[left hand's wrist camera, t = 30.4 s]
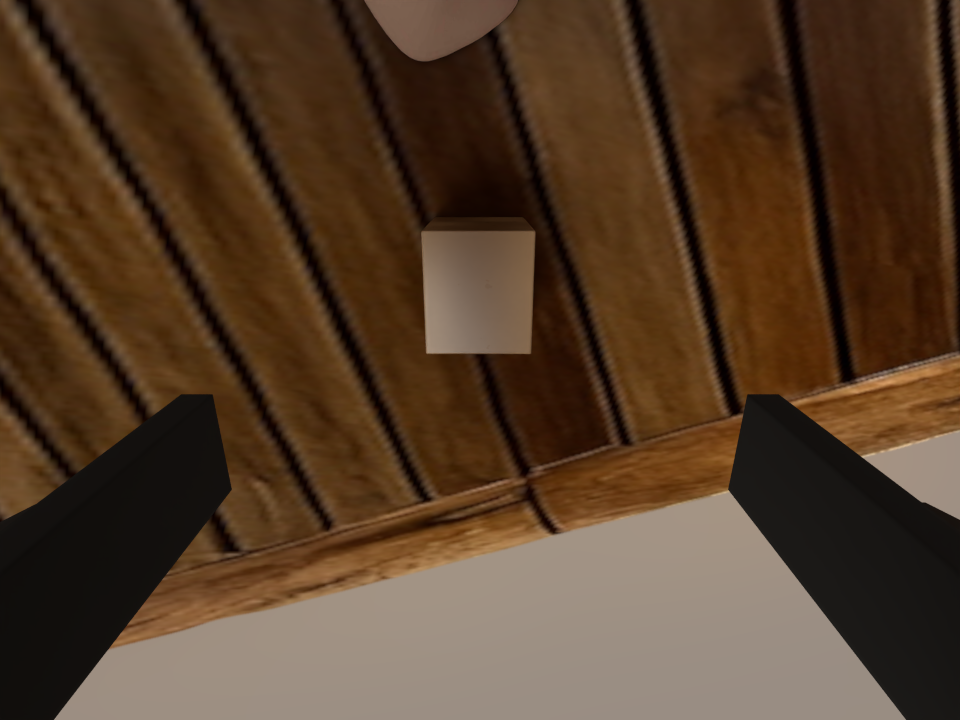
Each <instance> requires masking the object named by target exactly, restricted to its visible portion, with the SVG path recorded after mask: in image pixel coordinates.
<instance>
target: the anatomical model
mask: <svg viewBox="0 0 960 720" xmlns="http://www.w3.org/2000/svg"><path fill="white" fill-rule="evenodd" d="M364 1H365V2H366V4H367V5H368V7H369V9H370V10H371V12H372V14H373V15H374V17H375V18H376V20H377V21H378V23H379V24H380V25H381V27H382V28H383V30H384V31H385V33H386V34H387V35H388V36H389V37H390V39H391V40H392V41H393V42H394V43H395V45H396V46H397V47H398V48H399V49H400V50H401V51H402V52H404V53H405V54H406V55H407V56H409V57H411V58H413V59H415V60H418V61H431V60H435V59H438V58H441V57H444V56H447V55H449V54H451V53H453V52H455V51H457V50H459V49H461V48H463V47H465V46H467V45H469V44H471V43H473V42H474V41H476V40H478V39H480V38H481V37H483V36H484V35H485V34H487V33H488V32H489V31H491V30H492V29H493V28H495V27H496V26H497V25H499V24H500V23H501V22H502V21H504V20H505V19H506V18H507V17H508V16H509V15H510V14H511V12H512V11H513V9H514V8H515V6H516V4H517V2H518V0H364Z"/></svg>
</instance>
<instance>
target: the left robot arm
mask: <svg viewBox="0 0 960 720" xmlns="http://www.w3.org/2000/svg"><path fill="white" fill-rule="evenodd" d="M231 490H232V488H231V484H230V479H229V474H228V469H227V464H226V459H225V454H224V449H223V444H222V439H221V434H220V429H219V424H218V419H217V414H216V409H215V404H214V399H213V394H181V395H180V396H179V397H177V398H176V399H175V400H173V401H172V402H171V403H169V404H168V405H167V406H165V407H164V408H163V409H161V410H160V411H159V412H157V413H156V414H155V415H153V416H152V417H151V418H150V419H148V420H147V421H146V422H144V423H143V424H142V425H140V426H139V427H138V428H136V429H135V430H134V431H132V432H131V433H130V434H128V435H127V436H126V437H124V438H123V439H122V440H120V441H119V442H118V443H116V444H115V445H114V446H112V447H111V448H110V449H109V450H107V451H106V452H105V453H103V454H102V455H101V456H99V457H98V458H97V459H95V460H94V461H93V462H91V463H90V464H89V465H87V466H86V467H85V468H83V469H82V470H81V471H79V472H78V473H77V474H75V475H74V476H73V477H71V478H70V479H69V480H68V481H66V482H65V483H64V484H62V485H61V486H60V487H58V488H57V489H56V490H54V491H53V492H52V493H50V494H49V495H48V496H46V497H45V498H44V499H42V500H41V501H40V502H38V503H37V504H35V505H33V506H31V507H29V508H27V509H25V510H23V511H21V512H19V513H17V514H15V515H13V516H11V517H9V518H8V519H6V520H4V521H2V522H0V720H54V719H55V718H56V716H57V715H58V714H59V712H60V711H61V710H62V708H63V707H64V706H65V704H66V703H67V702H68V701H69V699H70V698H71V697H72V695H73V694H74V693H75V692H76V690H77V689H78V688H79V686H80V685H81V684H82V683H83V681H84V680H85V679H86V677H87V676H88V675H89V673H90V672H91V671H92V670H93V668H94V667H95V666H96V664H97V663H98V662H99V661H100V659H101V658H102V657H103V655H104V654H105V653H106V652H107V650H108V649H109V648H110V646H111V645H112V644H113V643H114V641H115V640H116V639H117V637H118V636H119V635H120V633H121V632H122V631H123V630H124V628H125V627H126V626H127V624H128V623H129V622H130V621H131V619H132V618H133V617H134V615H135V614H136V613H137V612H138V610H139V609H140V608H141V606H142V605H143V604H144V602H145V601H146V600H147V599H148V597H149V596H150V595H151V593H152V592H153V591H154V590H155V588H156V587H157V586H158V584H159V583H160V582H161V580H162V579H163V578H164V577H165V575H166V574H167V573H168V571H169V570H170V569H171V568H172V566H173V565H174V564H175V562H176V561H177V560H178V558H179V557H180V556H181V555H182V553H183V552H184V551H185V549H186V548H187V547H188V546H189V544H190V543H191V542H192V540H193V539H194V538H195V537H196V535H197V534H198V533H199V531H200V530H201V529H202V527H203V526H204V525H205V524H206V522H207V521H208V520H209V518H210V517H211V516H212V515H213V513H214V512H215V511H216V509H217V508H218V507H219V505H220V504H221V503H222V502H223V500H224V499H225V498H226V496H227V495H228V494H229V493H230V491H231ZM728 490H729V491H730V493H731V494H732V495H733V496H734V498H735V499H736V500H737V501H738V503H739V504H740V505H741V507H742V508H743V509H744V511H745V512H746V513H747V514H748V516H749V517H750V518H751V520H752V521H753V522H754V524H755V525H756V526H757V527H758V529H759V530H760V531H761V533H762V534H763V535H764V536H765V538H766V539H767V540H768V542H769V543H770V544H771V545H772V547H773V548H774V549H775V551H776V552H777V553H778V555H779V556H780V557H781V558H782V560H783V561H784V562H785V564H786V565H787V566H788V567H789V569H790V570H791V571H792V573H793V574H794V575H795V577H796V578H797V579H798V580H799V582H800V583H801V584H802V586H803V587H804V588H805V590H806V591H807V592H808V593H809V595H810V596H811V597H812V599H813V600H814V601H815V602H816V604H817V605H818V606H819V608H820V609H821V610H822V612H823V613H824V614H825V615H826V617H827V618H828V619H829V621H830V622H831V623H832V624H833V626H834V627H835V628H836V630H837V631H838V632H839V633H840V635H841V636H842V637H843V639H844V640H845V641H846V643H847V644H848V645H849V646H850V648H851V649H852V650H853V652H854V653H855V654H856V655H857V657H858V658H859V659H860V661H861V662H862V663H863V665H864V666H865V667H866V668H867V670H868V671H869V672H870V674H871V675H872V676H873V677H874V679H875V680H876V681H877V683H878V684H879V685H880V686H881V688H882V689H883V690H884V692H885V693H886V694H887V696H888V697H889V698H890V699H891V701H892V702H893V703H894V704H895V706H896V707H897V708H898V710H899V711H900V712H901V714H902V715H903V716H904V717H905V719H906V720H960V520H959V519H957V518H955V517H953V516H951V515H949V514H947V513H945V512H943V511H941V510H939V509H937V508H935V507H933V506H931V505H929V504H927V503H922V502H920V501H919V500H917V499H916V498H915V497H914V496H912V495H911V494H910V493H908V492H907V491H906V490H904V489H903V488H902V487H900V486H899V485H898V484H896V483H895V482H894V481H892V480H891V479H890V478H889V477H887V476H886V475H884V474H883V473H882V472H881V471H879V470H878V469H877V468H875V467H874V466H873V465H871V464H870V463H869V462H867V461H866V460H865V459H863V458H862V457H861V456H859V455H858V454H857V453H855V452H854V451H853V450H851V449H850V448H849V447H848V446H846V445H845V444H844V443H842V442H841V441H840V440H838V439H837V438H836V437H834V436H833V435H832V434H830V433H829V432H828V431H826V430H825V429H824V428H822V427H821V426H820V425H818V424H817V423H816V422H814V421H813V420H812V419H810V418H809V417H808V416H807V415H805V414H804V413H803V412H801V411H800V410H799V409H797V408H796V407H795V406H793V405H792V404H791V403H789V402H788V401H787V400H785V399H784V398H783V397H781V396H780V395H779V394H747V399H746V404H745V409H744V414H743V419H742V424H741V429H740V434H739V439H738V444H737V449H736V454H735V459H734V464H733V469H732V474H731V479H730V484H729V488H728Z"/></svg>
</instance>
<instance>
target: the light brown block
mask: <svg viewBox="0 0 960 720" xmlns="http://www.w3.org/2000/svg"><path fill="white" fill-rule="evenodd" d="M535 234H536V232H535V230H534V229H533V228H532V227H531V226H530V225H529V223H528V222H527V221H526V220H525V219H524V218H523V217H435V218H434V219H433V220H432V221H431V222H430V223H429V224H428V225H427V226H426V227H425V228H424V229H423V230H422V232H421V237H422V263H423V288H424V313H425V339H426V353H427V354H530V353H531V341H532V314H533V287H534V260H535Z"/></svg>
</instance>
